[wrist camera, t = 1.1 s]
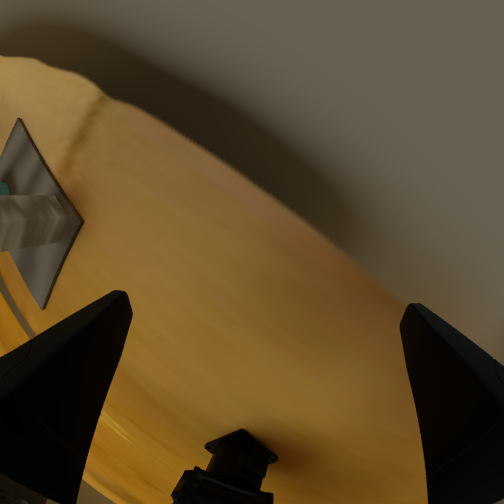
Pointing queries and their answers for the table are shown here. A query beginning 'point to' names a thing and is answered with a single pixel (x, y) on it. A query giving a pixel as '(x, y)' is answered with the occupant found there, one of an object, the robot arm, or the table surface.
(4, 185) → the cupcake
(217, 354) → the table surface
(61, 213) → the gray board with column
